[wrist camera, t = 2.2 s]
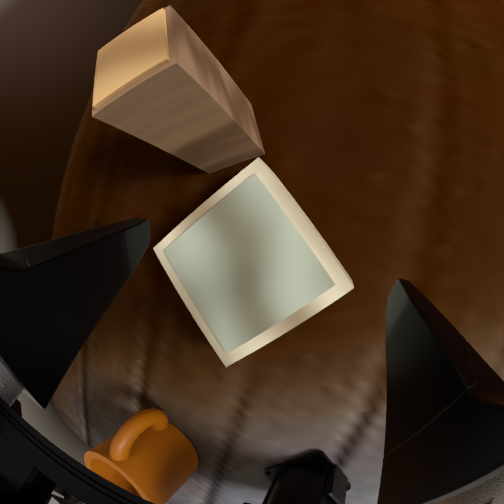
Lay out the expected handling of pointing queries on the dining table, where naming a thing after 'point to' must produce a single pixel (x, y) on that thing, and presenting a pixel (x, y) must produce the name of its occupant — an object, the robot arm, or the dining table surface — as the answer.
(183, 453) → the mug
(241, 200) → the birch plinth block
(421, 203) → the dining table surface
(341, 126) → the dining table surface
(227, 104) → the tan wooden block
